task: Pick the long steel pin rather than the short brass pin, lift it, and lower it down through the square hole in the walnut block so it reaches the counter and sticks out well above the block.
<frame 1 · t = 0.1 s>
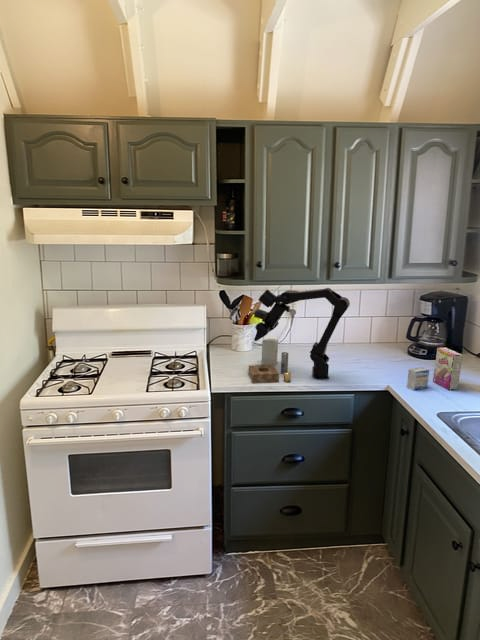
hand: (257, 338, 226), 15 cm above the worktop, tool tilted 30°, fingers open, 9 cm apart
candy bar box: (444, 386, 212), on the worktop
medicine box: (416, 388, 209), on the worktop
long pin: (284, 373, 223), on the worktop
short pin: (287, 381, 213), on the worktop
hole block: (263, 377, 217), on the worktop
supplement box: (269, 363, 237), on the worktop
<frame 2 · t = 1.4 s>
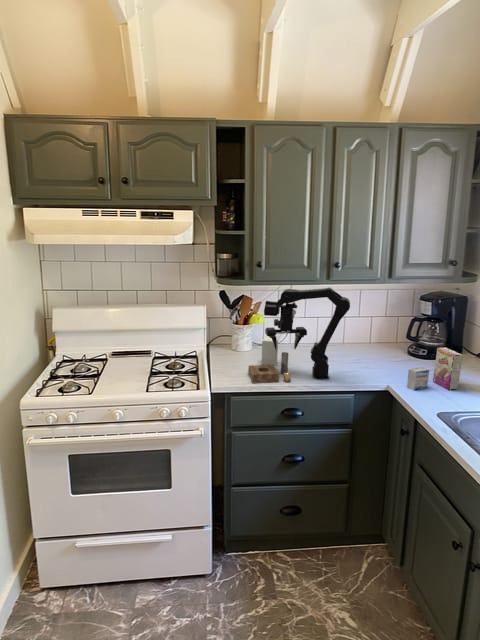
hand: (285, 349, 220), 12 cm above the worktop, tool pointing down, fingers open, 9 cm apart
nothing on the worktop moved.
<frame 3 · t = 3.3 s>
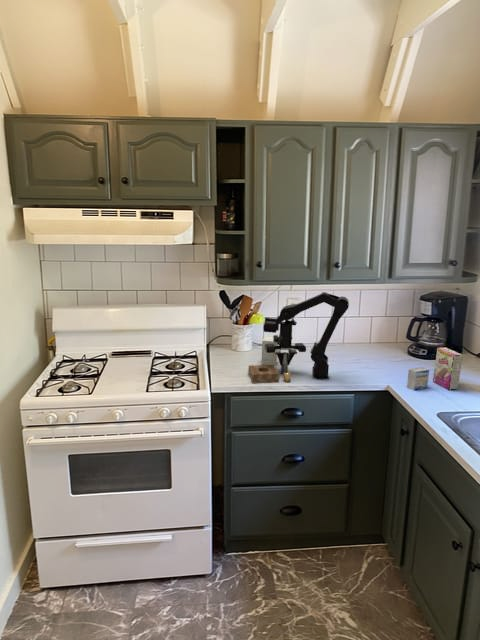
hand: (284, 365, 222), 4 cm above the worktop, tool pointing down, fingers closed on long pin, 3 cm apart
long pin: (284, 373, 223), on the worktop, touching gripper
everything else where it was.
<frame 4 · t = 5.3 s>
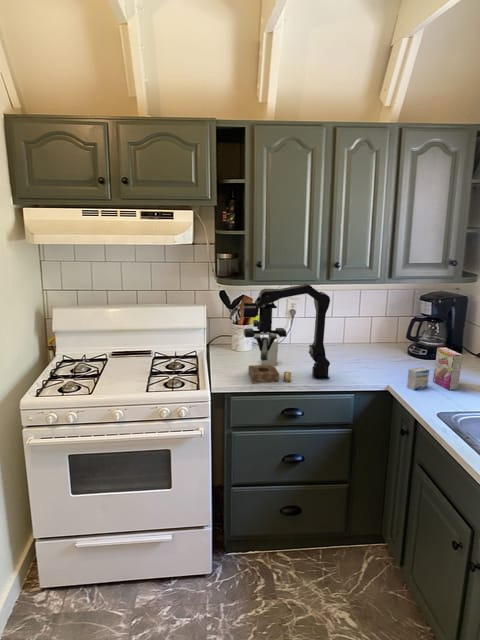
hand: (264, 350, 214), 13 cm above the worktop, tool pointing down, fingers closed on long pin, 3 cm apart
long pin: (263, 359, 215), point 9 cm above the worktop, touching gripper
everything else where it was.
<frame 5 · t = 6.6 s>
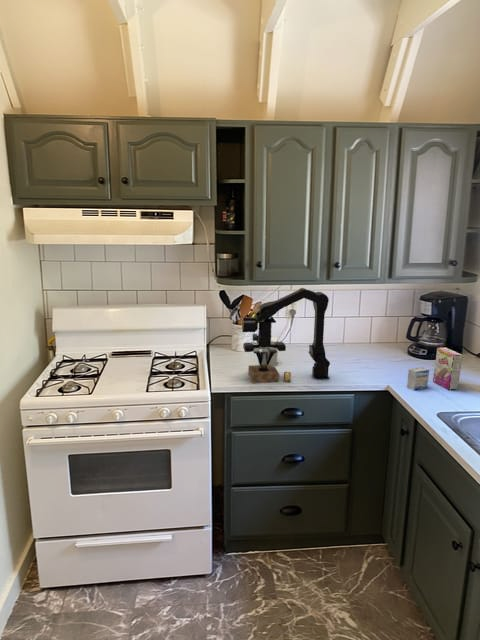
hand: (263, 364, 215), 6 cm above the worktop, tool pointing down, fingers closed on long pin, 3 cm apart
long pin: (263, 372, 216), point 2 cm above the worktop, touching gripper
everything else where it was.
when the fingers open (5 cm above the worktop, at t = 7.4 s): long pin drops 2 cm, resting in hole block.
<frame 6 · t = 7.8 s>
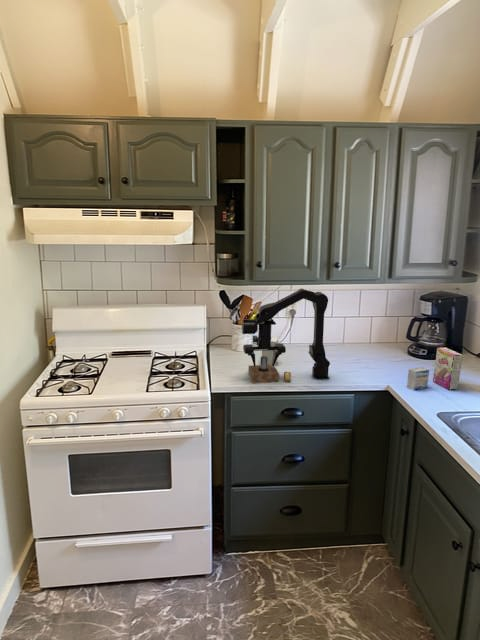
hand: (263, 366, 215), 5 cm above the worktop, tool pointing down, fingers open, 8 cm apart
long pin: (263, 377, 217), resting in hole block
everything else where it was.
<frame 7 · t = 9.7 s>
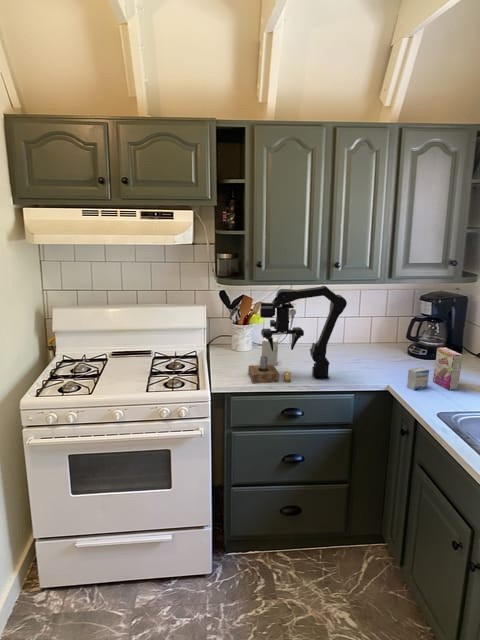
hand: (282, 350, 216), 13 cm above the worktop, tool pointing down, fingers open, 9 cm apart
nothing on the worktop moved.
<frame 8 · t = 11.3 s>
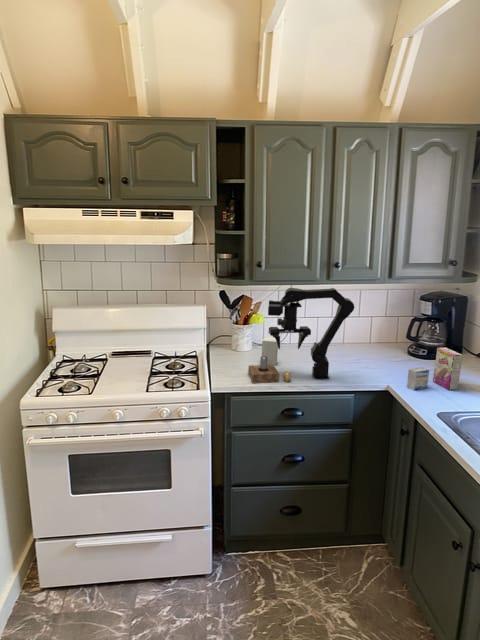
hand: (288, 348, 217), 13 cm above the worktop, tool pointing down, fingers open, 9 cm apart
nothing on the worktop moved.
at the end: long pin 0.1 cm off-centre on the hole block, point 0.0 cm above the hole block's base; long pin tilted 0°; short pin moved 0.1 cm from its start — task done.
